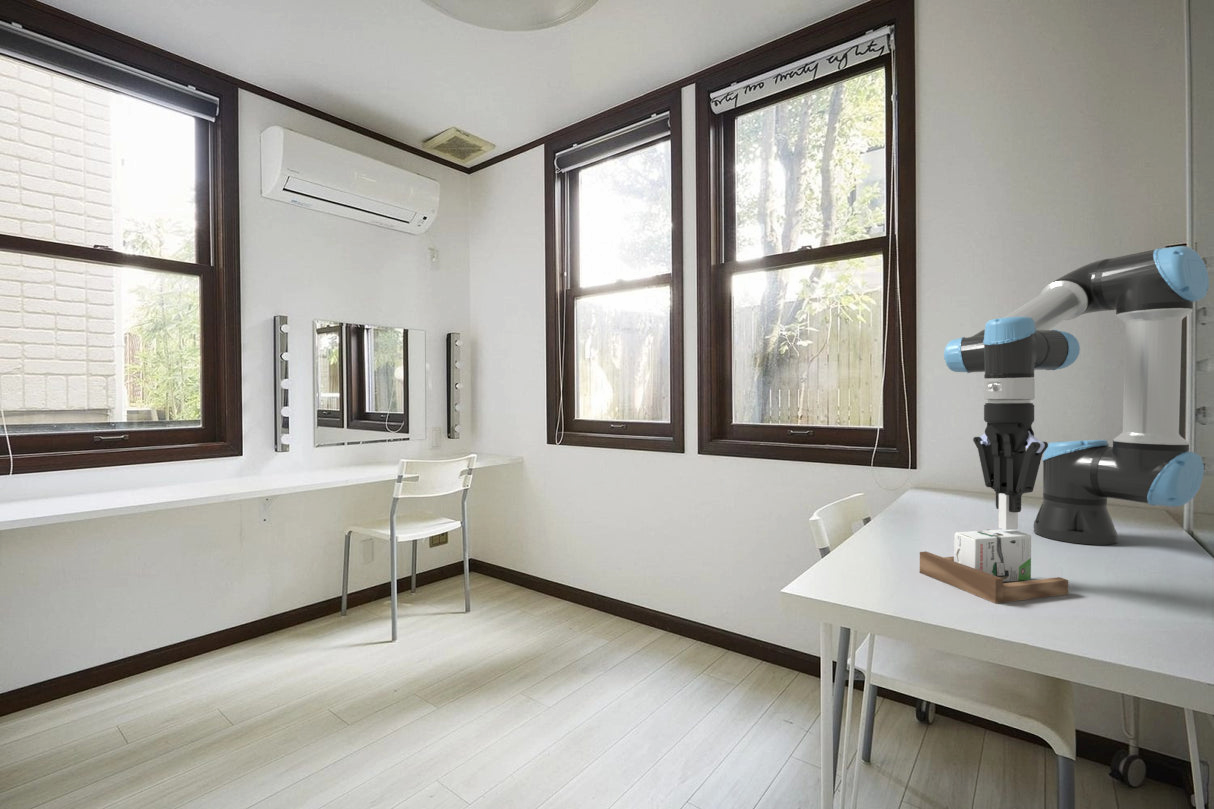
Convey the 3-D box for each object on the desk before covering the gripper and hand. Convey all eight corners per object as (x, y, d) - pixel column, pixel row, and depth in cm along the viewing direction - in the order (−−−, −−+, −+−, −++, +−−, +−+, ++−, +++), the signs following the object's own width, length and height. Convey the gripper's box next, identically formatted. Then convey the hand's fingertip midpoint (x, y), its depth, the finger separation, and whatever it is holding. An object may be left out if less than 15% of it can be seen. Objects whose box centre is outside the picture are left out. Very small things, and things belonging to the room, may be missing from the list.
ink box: (1032, 581, 100) (975, 586, 98) (1007, 572, 105) (953, 577, 103) (1032, 534, 99) (974, 538, 98) (1007, 527, 104) (952, 531, 102)
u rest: (984, 565, 110) (984, 546, 110) (1068, 594, 94) (1068, 571, 94) (919, 572, 106) (919, 552, 106) (995, 603, 91) (995, 579, 91)
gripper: (961, 401, 107) (961, 521, 107) (1026, 402, 94) (1026, 539, 95) (992, 400, 108) (992, 519, 109) (1061, 401, 96) (1060, 535, 96)
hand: (1008, 528), depth 102 cm, fingers closed
